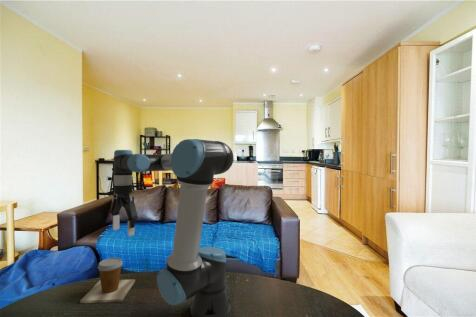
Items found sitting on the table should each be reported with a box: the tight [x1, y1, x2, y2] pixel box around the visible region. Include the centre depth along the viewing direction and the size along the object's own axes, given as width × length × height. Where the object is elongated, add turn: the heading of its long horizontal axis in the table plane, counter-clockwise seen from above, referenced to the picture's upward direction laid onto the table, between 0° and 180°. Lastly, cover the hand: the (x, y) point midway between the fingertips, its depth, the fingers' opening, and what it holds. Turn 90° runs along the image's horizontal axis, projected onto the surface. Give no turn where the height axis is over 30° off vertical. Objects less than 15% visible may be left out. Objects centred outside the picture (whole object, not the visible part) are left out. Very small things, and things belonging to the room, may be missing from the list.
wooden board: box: [79, 278, 136, 304], centre depth 105 cm, size 16×16×1 cm
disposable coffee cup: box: [97, 257, 124, 293], centre depth 105 cm, size 10×10×12 cm
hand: (123, 232), depth 108 cm, fingers open, 13 cm apart
